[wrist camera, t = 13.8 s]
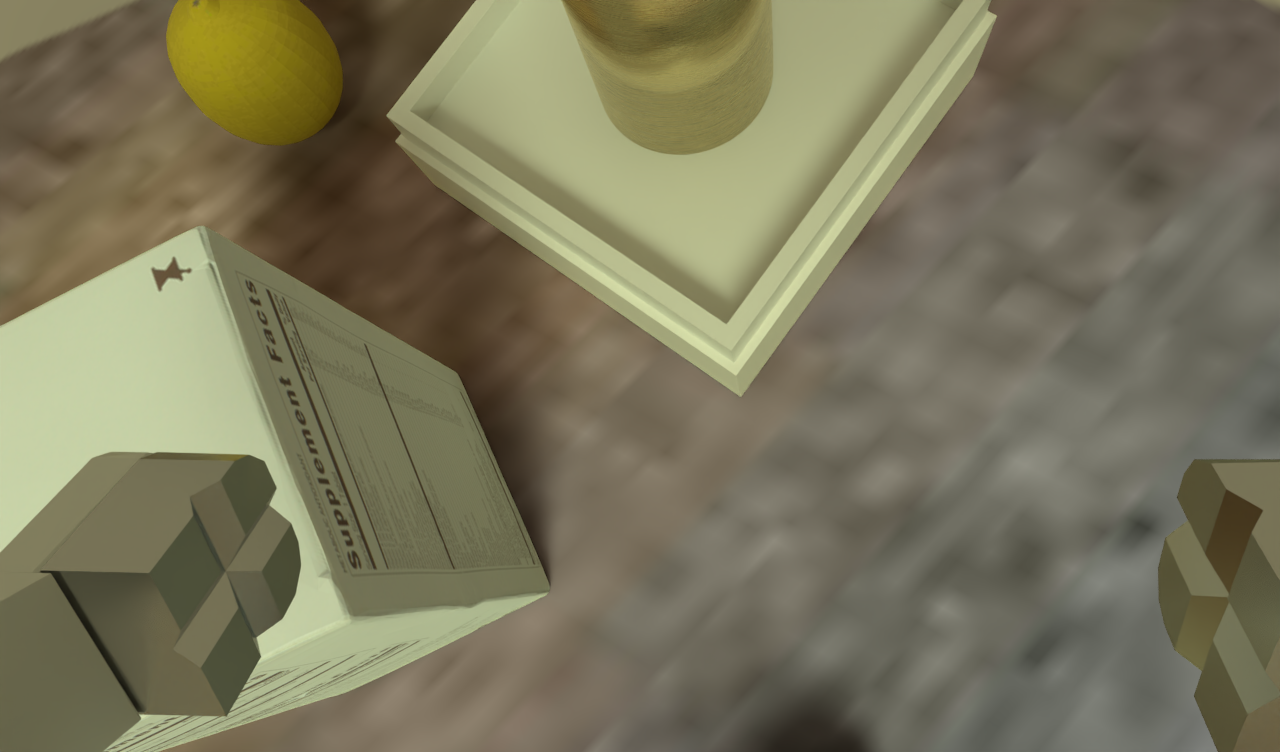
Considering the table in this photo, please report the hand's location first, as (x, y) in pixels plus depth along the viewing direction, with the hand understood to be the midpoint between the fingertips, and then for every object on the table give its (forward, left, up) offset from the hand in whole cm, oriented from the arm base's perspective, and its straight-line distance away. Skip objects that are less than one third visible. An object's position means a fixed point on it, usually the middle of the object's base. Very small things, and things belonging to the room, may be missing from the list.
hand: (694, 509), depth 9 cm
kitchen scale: (+11, -12, -25) cm, 30 cm away
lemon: (+25, -4, -26) cm, 36 cm away
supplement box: (+11, +7, -26) cm, 29 cm away
